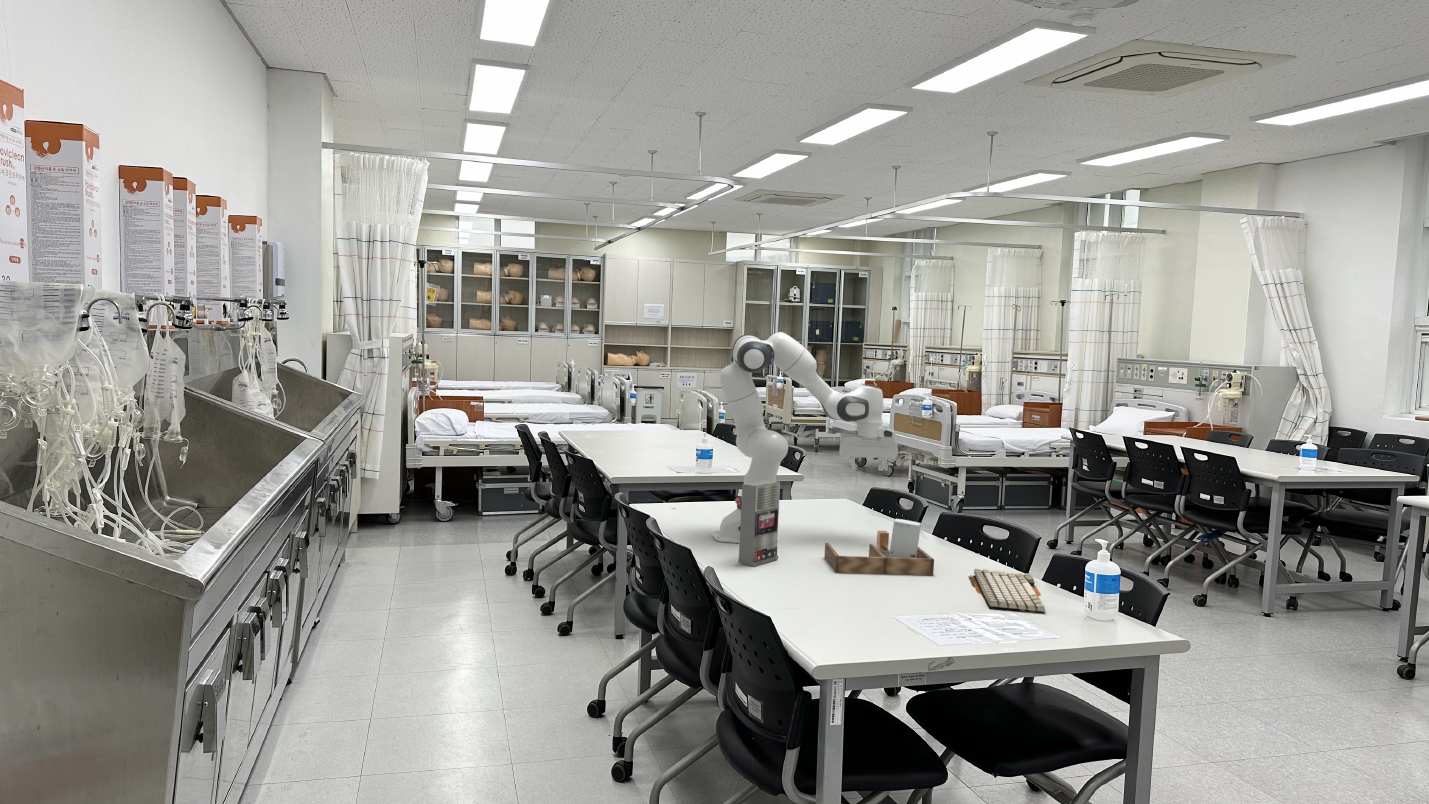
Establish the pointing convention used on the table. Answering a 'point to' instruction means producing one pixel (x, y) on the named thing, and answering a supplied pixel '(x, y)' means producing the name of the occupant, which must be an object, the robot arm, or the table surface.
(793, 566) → the table surface
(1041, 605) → the mechanical keyboard
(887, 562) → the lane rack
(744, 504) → the cassette tape recorder
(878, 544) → the pull frame
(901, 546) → the skincare box
